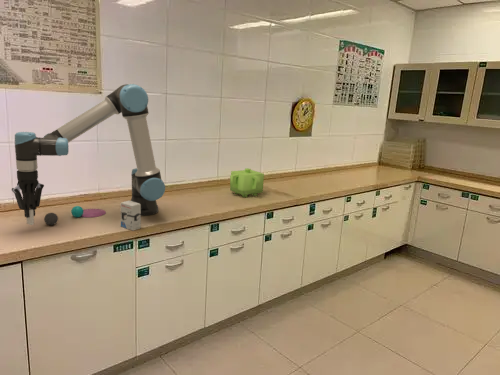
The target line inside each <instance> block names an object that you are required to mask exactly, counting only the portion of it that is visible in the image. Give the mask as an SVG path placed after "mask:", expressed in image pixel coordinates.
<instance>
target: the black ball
mask: <svg viewBox="0 0 500 375" xmlns="http://www.w3.org/2000/svg"><path fill="white" fill-rule="evenodd" d="M43 220H44V223H45V224H46V225H49V226H53V225H56V224H57V223H58V221H59V217H58V215H57V214H56V213H54V212H48V213H46V215H45V216H44V219H43Z"/></svg>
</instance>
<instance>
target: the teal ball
mask: <svg viewBox="0 0 500 375" xmlns="http://www.w3.org/2000/svg"><path fill="white" fill-rule="evenodd" d="M83 213H84V208H83V207H82V206H80V205H75V206H73V207H72V208H71V211H70V214H71V215H72V216H73V218H82V217H81V216H82V215H83Z"/></svg>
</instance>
